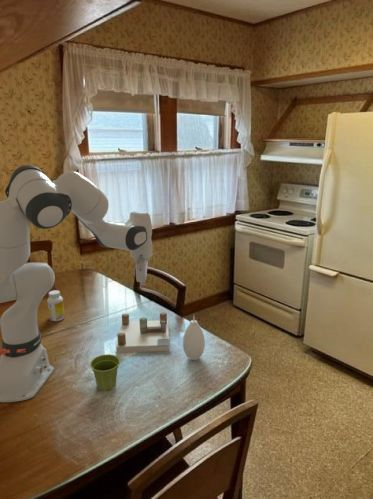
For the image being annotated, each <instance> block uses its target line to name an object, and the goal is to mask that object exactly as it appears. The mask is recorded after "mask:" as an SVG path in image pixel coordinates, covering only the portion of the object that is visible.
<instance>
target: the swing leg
mask: <svg viewBox="0 0 373 499" xmlns="http://www.w3.org/2000/svg"><path fill="white" fill-rule="evenodd" d="M139 321H140V333H142V334H144V333H149V332H166V321H161V326H157V327H147V321H148V317H140V318H139Z"/></svg>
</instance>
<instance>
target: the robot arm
mask: <svg viewBox="0 0 373 499" xmlns="http://www.w3.org/2000/svg"><path fill="white" fill-rule="evenodd" d="M4 194H5V196H6V197H7V198H6V199H3V200H0V304H1V303H6V302H10V301H15V300H16V301H15V302H14V303H13V305H11V306H10V307H9V308H7V309H6V310H5V311H4V312H3V313H2V315H1V316H0V331H1V336H2V339H1V343H0V344H1V345H0V403H14V402H16V403H17V402H20V401H21V402H22V401H25V400H29V399H31V398H34V397H35V396H36V395H37V394H38V392H39V391H40V389H41V388H42V387H43V386H44V384H45V383H46V382H47V380H48V379H49V378H50V377H51V375H52V374H53V373H54V371H55V367H54V365H53V366H52V365H51V364H50V360H49V356H48V352H47V348H45V347H44V345H42V335H41V333H40V332H41V331H40V330H39V327H38V309H39V306H40V303H42V302H41V301H42V300H43V298H44V297H45V296H46V295H47V293H49V292H50V291H52V288H53V287H54V284H55V279H56V277H55V272H54V270H53V268H52V266H50V265H49V264H48V263H46V262H28V260H29V259H30V256H31V239H30V238H31V237H30V236H31V234H30V225H31V224H32V225H33V226H34V227H37V228H38V229H42V230H49V229H52V228H55V227H56V226H58V225H60V224H61V223H62V222H63V221H64V220H65V219H66V218H67V216H69V214H70V213H72V214H74V215H75V217H76V218H77V219H78V221H80V223H81V224H82V225H84V227H85V228H87V230H88V231H90V233H91V234H92V235H93V237H94V238H95V240H96V242H97V244H98V245H99V246H101V247H103V248H113V249H118V250H125V251H129V252H130V253H129V254H130V258H132V259H133V260H134V262H135V278H136V282H137V283H139V284H140V286H145V285H146V281H147V272H148V264H149V263H148V262H149V261H150V259H151V258H152V257H153V255H154V252H153V240H152V235H153V226H152V218H151V215H150V214H149V213H148V212H144V211H143V212H142V211H131V212H130V214H129V218H128V220H127V221H126V222H125V223H121V222H115V221H114V222H113V221H109V220H104V218H105V216H106V215H107V212H108V210H109V200H108V198H107V196H106V195H105V193H104V192H103V191H102V190H101V189H100V188H99V187H98V186H97V185H96V184H95V183H94V182H92V181H91V180H90V179H89V178H87V177H85V176H84V175H82V174H81V173H79V172H76V171H72V170H71V171H66V172H64V173H62V174H60V175H59V176H58V177H57V178H56V179H55V180H51V179H50V178H49V177H48V175H47V174H46V173H45V172H44V171H43V170H42V169H40V168H39V167H37V166H34V165H30V164H24V165H22V166H21V165H20V166H19V167H17V168H16V169H14V171H13V172H12V173H11V176H10V178H9V181H8V185H7V186H6V188H5V190H4Z"/></svg>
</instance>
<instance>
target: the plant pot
mask: <svg viewBox="0 0 373 499" xmlns="http://www.w3.org/2000/svg"><path fill="white" fill-rule="evenodd" d="M120 362H121V360H120V358H119V357H118V356H117V355H114V354H102V355H101V354H100V355H97V356H96V357H94V358H93V359H91V361H90V363H89V366H90V368H91V369H92V372H93V375H94V378H95V383H96V387H97V389H98V390H100V391H110V390H113V389H114V388H115V387H116V385H117V379H118V378H117V376H118V368H119V366H120Z"/></svg>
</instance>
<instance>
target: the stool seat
mask: <svg viewBox="0 0 373 499" xmlns="http://www.w3.org/2000/svg"><path fill="white" fill-rule="evenodd" d="M161 321H166V332H149V333H144V334H142V333H140V320H130V314H129V313H123V314H121V322H120V325H119V326H120V327H119V332H118V333H117V335H116V337H117V340H116V346H115V348H116V353H117V354H118V353H122V354H123V353H142V352H145V353H146V352H165V351H166V352H167V351H170V346H171V338H170V337H169V336H170V335H169V320H168V315H167V312H165V311H164V312H163V311H162V312H160V313H159V320H147V327H157V326H161Z"/></svg>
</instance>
